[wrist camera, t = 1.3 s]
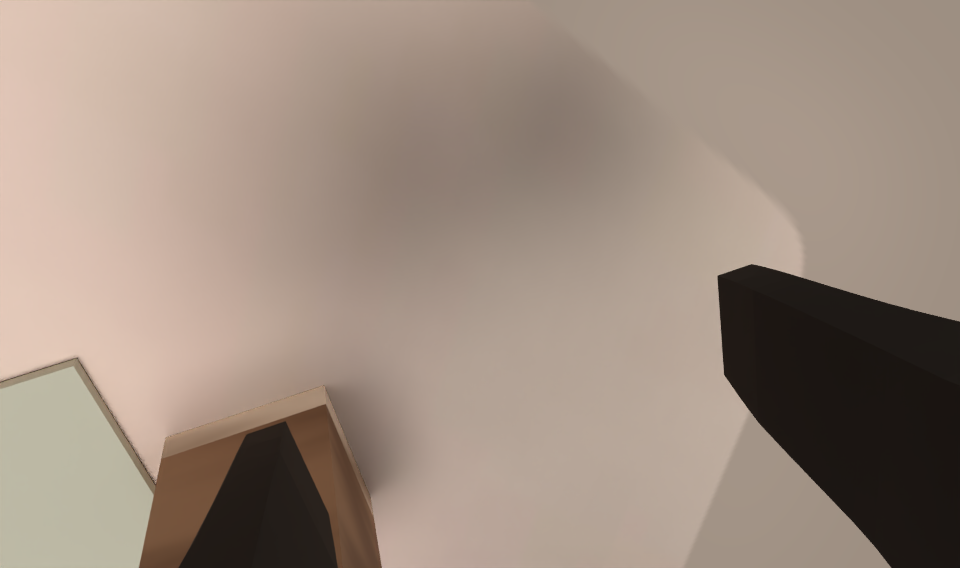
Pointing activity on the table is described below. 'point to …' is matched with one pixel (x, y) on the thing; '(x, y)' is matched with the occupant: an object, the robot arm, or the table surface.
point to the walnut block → (209, 454)
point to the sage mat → (67, 476)
